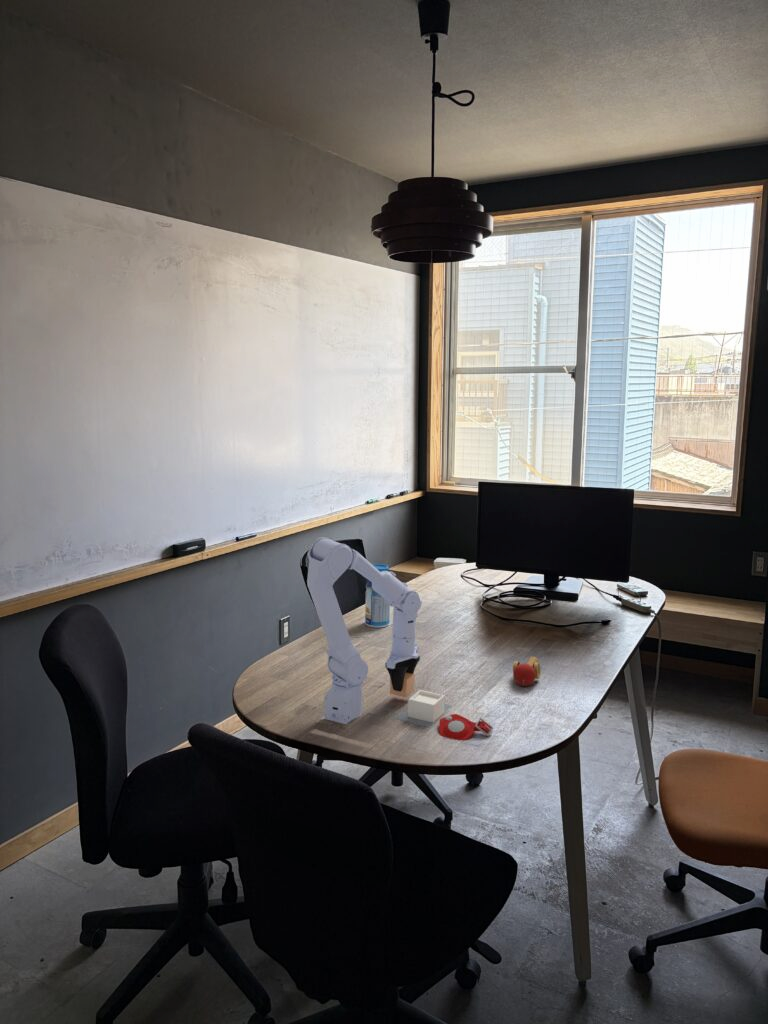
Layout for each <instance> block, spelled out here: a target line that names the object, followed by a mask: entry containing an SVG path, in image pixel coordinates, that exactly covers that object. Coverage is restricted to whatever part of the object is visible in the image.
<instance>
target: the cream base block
mask: <svg viewBox="0 0 768 1024" xmlns="http://www.w3.org/2000/svg"><path fill="white" fill-rule="evenodd" d="M445 696H446V695H445V694H440V693H435V692H431V691H426V690H423V689H419V690H418V691H417V692H416V693H414V694H413V695H412V696H411V697H410V698H408V706H407V708H408V717H412V718H416V719H420V720H424V721H429V722H434V721H435V720H437V719H438V718H439V717H440V716H441V715H442V714H443V713H444V704H445V699H446V697H445ZM444 714H445V713H444ZM444 714H443V715H444ZM443 715H442V716H443ZM442 716H441V717H442ZM441 717H440V718H441ZM440 718H439V719H440ZM439 719H438V720H439ZM438 720H437V721H438Z"/></svg>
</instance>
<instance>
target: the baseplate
mask: <svg viewBox="0 0 768 1024" xmlns="http://www.w3.org/2000/svg"><path fill="white" fill-rule="evenodd" d="M451 707H452V704H451V705H450V704H446V703H444V713H443V714H442V715H441V716H440V717H439V718H438V719H437V720H435V721H434V722H429V721H424V720H420V719H416V718H412V717H408V707H406V709H405V710H403V711H402V712H401V713H400V714H398V715H397V716H396V717H395V718H394V720H399V721H402V722H406V723H410V724H415V725H418V726H422V727H427V728H431V726H433V724H435V722H437V721H438V720H440V719H441V718H442V716H443V715H444V714H445V713H447V711H448V710H449V709H451Z"/></svg>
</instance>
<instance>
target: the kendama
mask: <svg viewBox="0 0 768 1024" xmlns="http://www.w3.org/2000/svg"><path fill="white" fill-rule="evenodd" d="M512 675H513V679H514V681H515V683H516V684H517V685H519V686H521V687H528V686H530V685H533V683H534V682H535V680H537V679H538V680H539V679H540V678H541V664H540V662H539V660H538V658H537V657H535V656H531V657H530V658H528V661H527V662H526V663H521V662H520V661H519V660H515V661H514V662H513V664H512Z"/></svg>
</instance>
